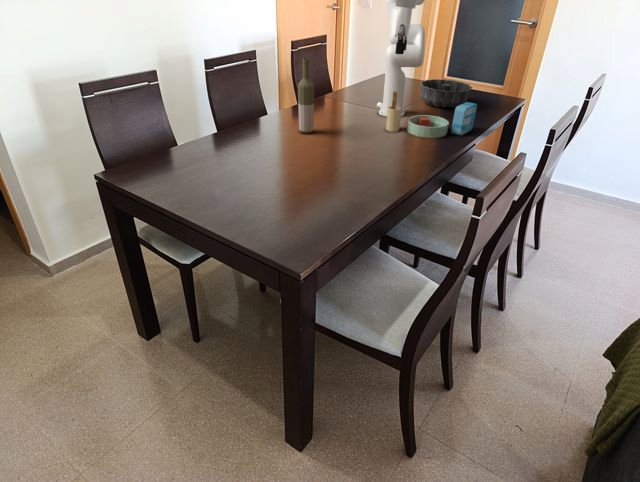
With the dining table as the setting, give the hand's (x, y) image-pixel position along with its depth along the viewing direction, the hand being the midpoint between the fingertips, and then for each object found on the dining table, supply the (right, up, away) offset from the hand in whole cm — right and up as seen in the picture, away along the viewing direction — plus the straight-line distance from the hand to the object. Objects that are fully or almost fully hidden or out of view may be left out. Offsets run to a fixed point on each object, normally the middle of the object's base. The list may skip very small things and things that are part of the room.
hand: (400, 52), depth 173 cm
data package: (+30, -28, +16) cm, 44 cm away
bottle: (-39, -29, +14) cm, 50 cm away
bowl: (+14, -28, +16) cm, 36 cm away
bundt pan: (+33, -4, +55) cm, 64 cm away
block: (+14, -25, +20) cm, 35 cm away
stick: (-1, -27, +17) cm, 32 cm away
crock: (0, -27, +17) cm, 32 cm away
